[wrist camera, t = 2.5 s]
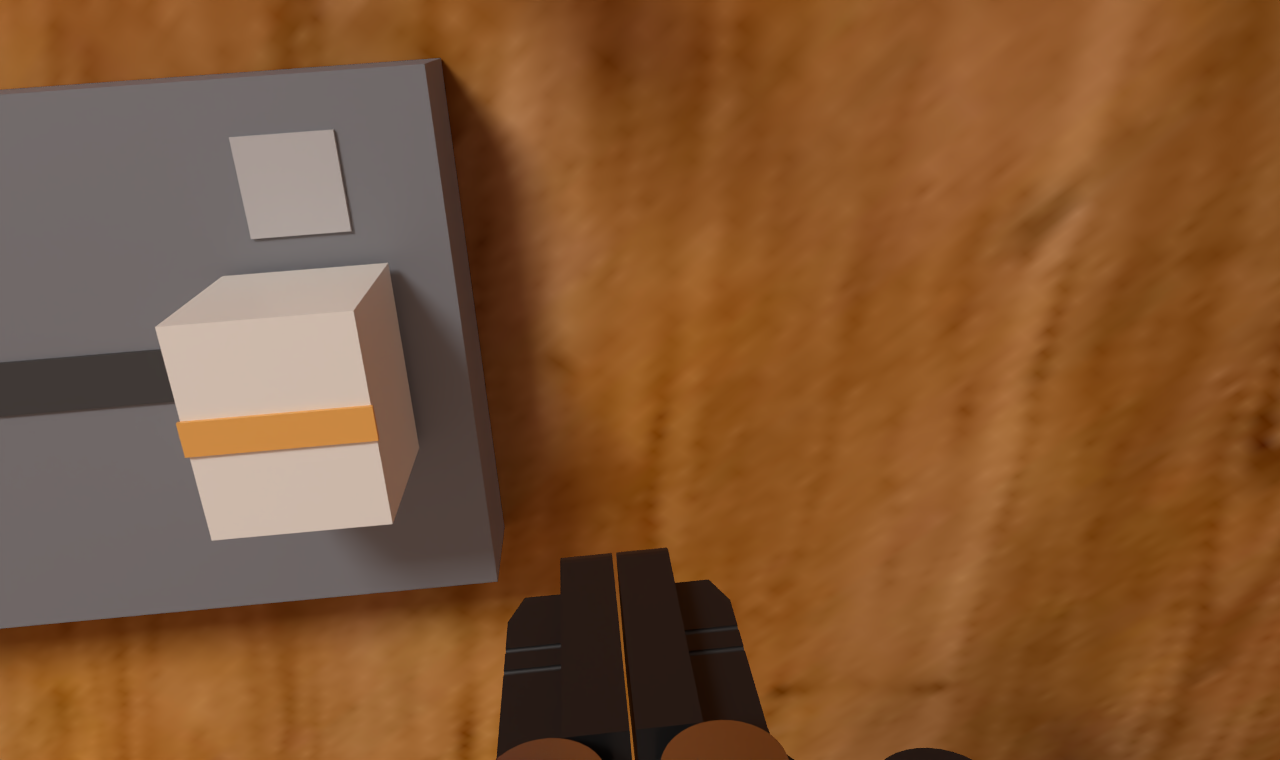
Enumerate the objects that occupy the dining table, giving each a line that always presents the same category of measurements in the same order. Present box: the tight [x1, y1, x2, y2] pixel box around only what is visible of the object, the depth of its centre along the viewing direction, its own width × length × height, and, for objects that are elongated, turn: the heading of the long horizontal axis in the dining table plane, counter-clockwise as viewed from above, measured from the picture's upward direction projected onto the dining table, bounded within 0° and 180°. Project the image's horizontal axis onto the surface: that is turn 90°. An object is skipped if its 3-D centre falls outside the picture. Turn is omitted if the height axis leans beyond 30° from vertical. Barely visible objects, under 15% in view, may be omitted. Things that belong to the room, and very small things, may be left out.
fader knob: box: [155, 263, 419, 541], centre depth 22 cm, size 4×5×4 cm
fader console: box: [0, 58, 504, 629], centre depth 25 cm, size 21×14×3 cm, turn 94°
